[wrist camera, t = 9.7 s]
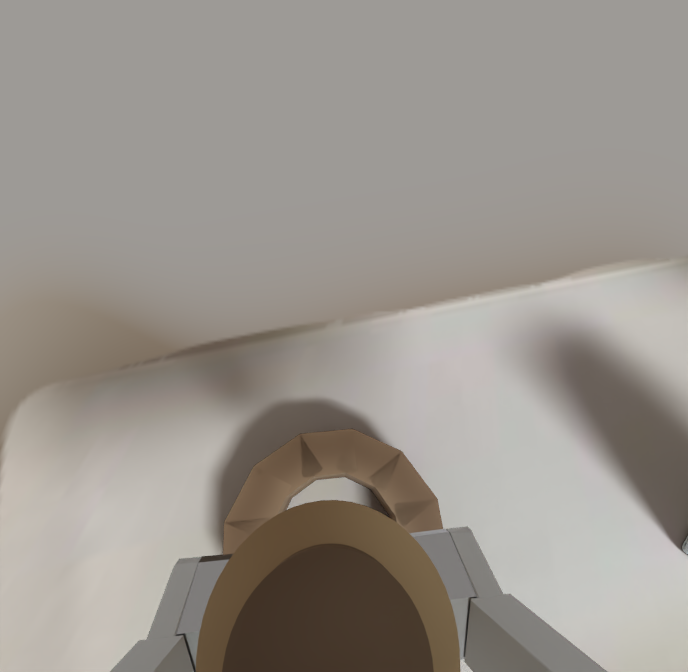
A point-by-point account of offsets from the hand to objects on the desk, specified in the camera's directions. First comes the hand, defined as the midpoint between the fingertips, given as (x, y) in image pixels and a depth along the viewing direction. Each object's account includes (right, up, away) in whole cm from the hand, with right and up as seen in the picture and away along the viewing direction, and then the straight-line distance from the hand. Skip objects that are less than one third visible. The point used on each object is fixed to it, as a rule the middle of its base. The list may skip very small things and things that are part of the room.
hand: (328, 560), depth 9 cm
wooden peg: (0, -3, +5) cm, 5 cm away
